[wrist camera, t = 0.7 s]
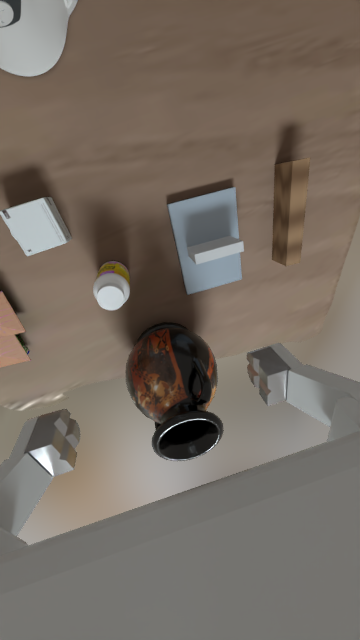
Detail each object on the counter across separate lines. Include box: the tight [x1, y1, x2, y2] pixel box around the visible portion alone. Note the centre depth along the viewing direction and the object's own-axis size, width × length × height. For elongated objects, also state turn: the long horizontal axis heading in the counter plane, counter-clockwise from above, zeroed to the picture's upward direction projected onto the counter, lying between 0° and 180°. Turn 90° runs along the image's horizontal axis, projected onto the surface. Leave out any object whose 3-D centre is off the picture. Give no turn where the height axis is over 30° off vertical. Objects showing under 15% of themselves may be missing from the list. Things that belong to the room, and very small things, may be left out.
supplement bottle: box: [93, 261, 130, 310], centre depth 45 cm, size 7×7×13 cm
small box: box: [0, 197, 72, 256], centre depth 41 cm, size 8×8×5 cm
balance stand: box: [167, 187, 244, 295], centre depth 48 cm, size 20×14×8 cm
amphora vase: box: [126, 323, 224, 461], centre depth 51 cm, size 22×22×28 cm
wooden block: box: [272, 158, 310, 266], centre depth 49 cm, size 20×4×6 cm, turn 11°
